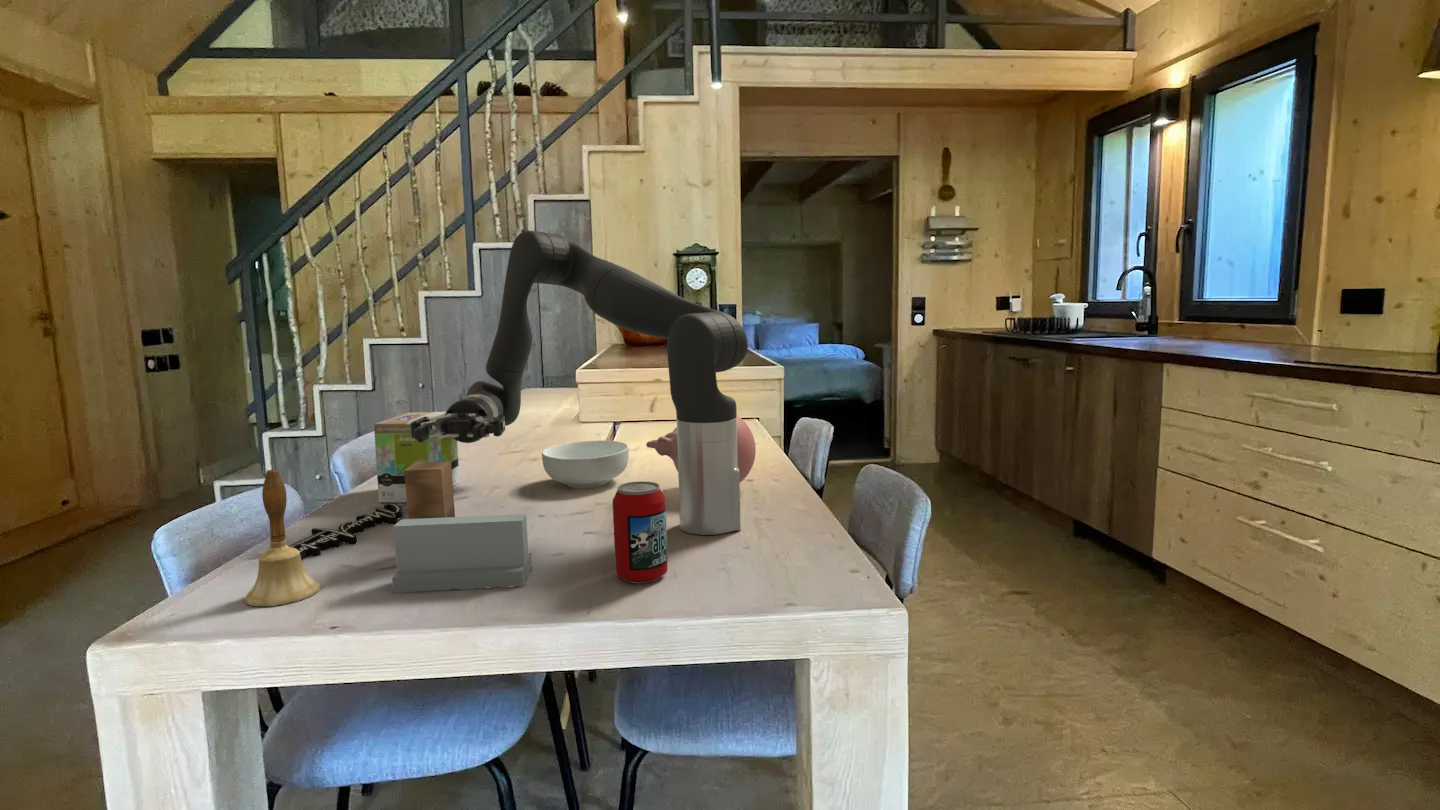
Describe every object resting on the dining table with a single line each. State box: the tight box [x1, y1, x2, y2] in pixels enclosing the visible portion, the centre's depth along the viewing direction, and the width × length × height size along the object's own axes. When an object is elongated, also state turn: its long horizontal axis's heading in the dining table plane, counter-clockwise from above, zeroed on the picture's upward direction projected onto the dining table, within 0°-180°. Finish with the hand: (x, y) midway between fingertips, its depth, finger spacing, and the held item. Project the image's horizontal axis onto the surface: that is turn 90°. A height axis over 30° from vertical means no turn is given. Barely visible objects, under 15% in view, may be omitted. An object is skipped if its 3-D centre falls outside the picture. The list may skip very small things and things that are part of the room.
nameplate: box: [288, 502, 403, 561], centre depth 122 cm, size 28×2×10 cm
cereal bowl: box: [541, 439, 630, 489], centre depth 150 cm, size 17×17×7 cm
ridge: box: [391, 513, 533, 594], centre depth 100 cm, size 16×7×8 cm, turn 94°
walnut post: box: [404, 461, 456, 519], centre depth 110 cm, size 5×5×13 cm
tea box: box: [373, 411, 460, 504], centre depth 146 cm, size 15×10×15 cm
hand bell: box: [244, 468, 321, 607], centre depth 96 cm, size 8×8×16 cm
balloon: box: [645, 415, 757, 483], centre depth 141 cm, size 15×20×15 cm
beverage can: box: [612, 480, 668, 584], centre depth 100 cm, size 7×7×12 cm
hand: (447, 435), depth 120 cm, fingers open, 8 cm apart
